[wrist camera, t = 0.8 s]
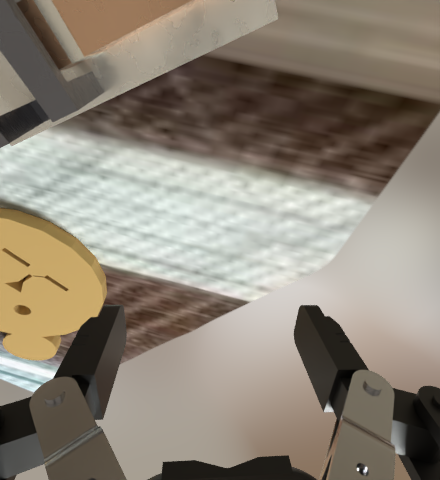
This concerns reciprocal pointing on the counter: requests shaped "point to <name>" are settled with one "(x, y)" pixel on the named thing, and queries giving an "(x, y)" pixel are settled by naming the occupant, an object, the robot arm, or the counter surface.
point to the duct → (92, 24)
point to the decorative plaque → (44, 285)
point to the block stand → (107, 62)
